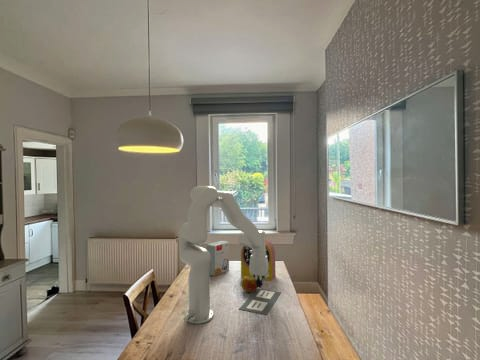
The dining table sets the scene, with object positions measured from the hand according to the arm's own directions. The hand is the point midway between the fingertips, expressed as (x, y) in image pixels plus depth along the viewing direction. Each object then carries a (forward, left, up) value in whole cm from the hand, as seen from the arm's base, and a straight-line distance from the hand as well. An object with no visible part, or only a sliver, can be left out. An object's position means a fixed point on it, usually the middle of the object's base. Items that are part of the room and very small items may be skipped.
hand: (259, 286), depth 142 cm
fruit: (+1, +6, -4) cm, 7 cm away
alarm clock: (+25, +10, -4) cm, 27 cm away
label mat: (-7, -3, -4) cm, 9 cm away
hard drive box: (+22, +38, -4) cm, 43 cm away
